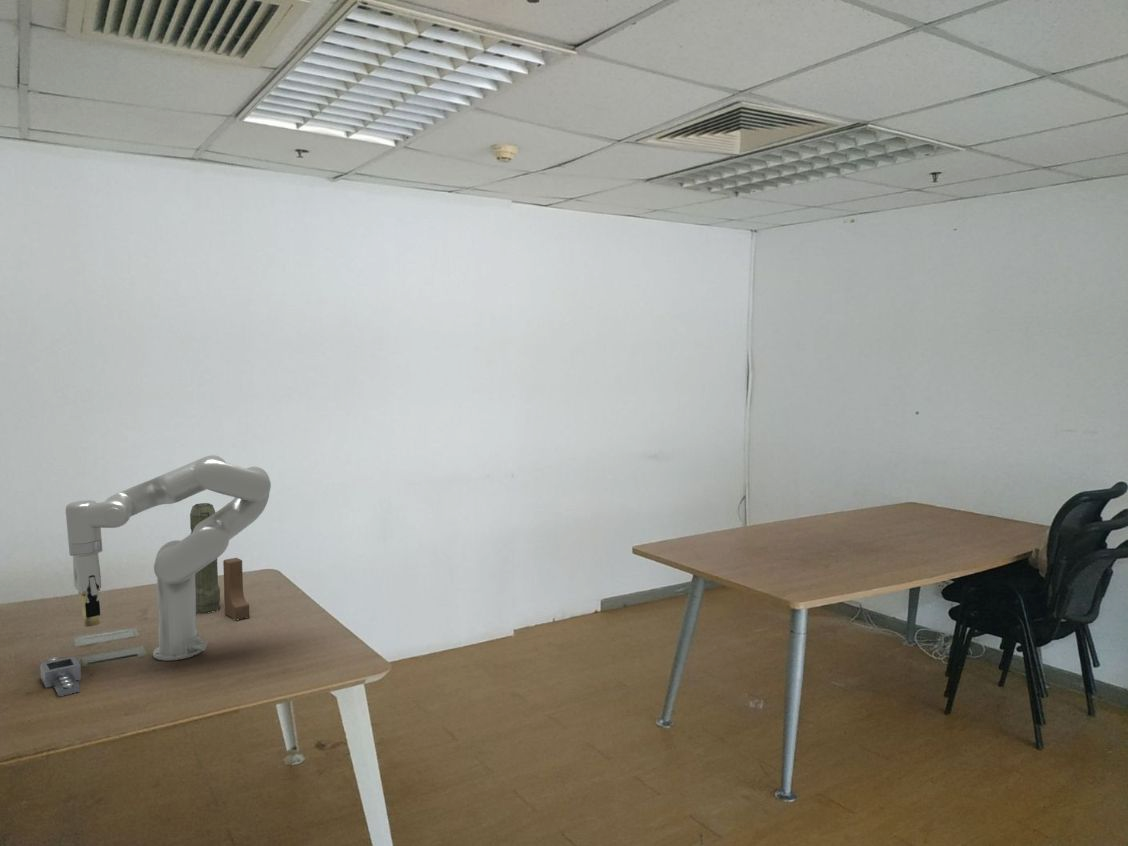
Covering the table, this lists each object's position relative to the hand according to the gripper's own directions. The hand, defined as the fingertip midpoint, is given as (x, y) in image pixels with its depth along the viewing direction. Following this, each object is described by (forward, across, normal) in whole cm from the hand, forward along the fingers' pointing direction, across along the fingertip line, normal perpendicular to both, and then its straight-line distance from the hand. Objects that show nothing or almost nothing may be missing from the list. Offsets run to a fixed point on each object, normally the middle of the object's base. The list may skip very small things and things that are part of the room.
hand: (91, 613), depth 207 cm
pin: (+3, 0, 0) cm, 3 cm away
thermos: (+15, -28, +37) cm, 49 cm away
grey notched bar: (+14, +6, -9) cm, 17 cm away
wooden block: (+15, -15, +42) cm, 47 cm away
